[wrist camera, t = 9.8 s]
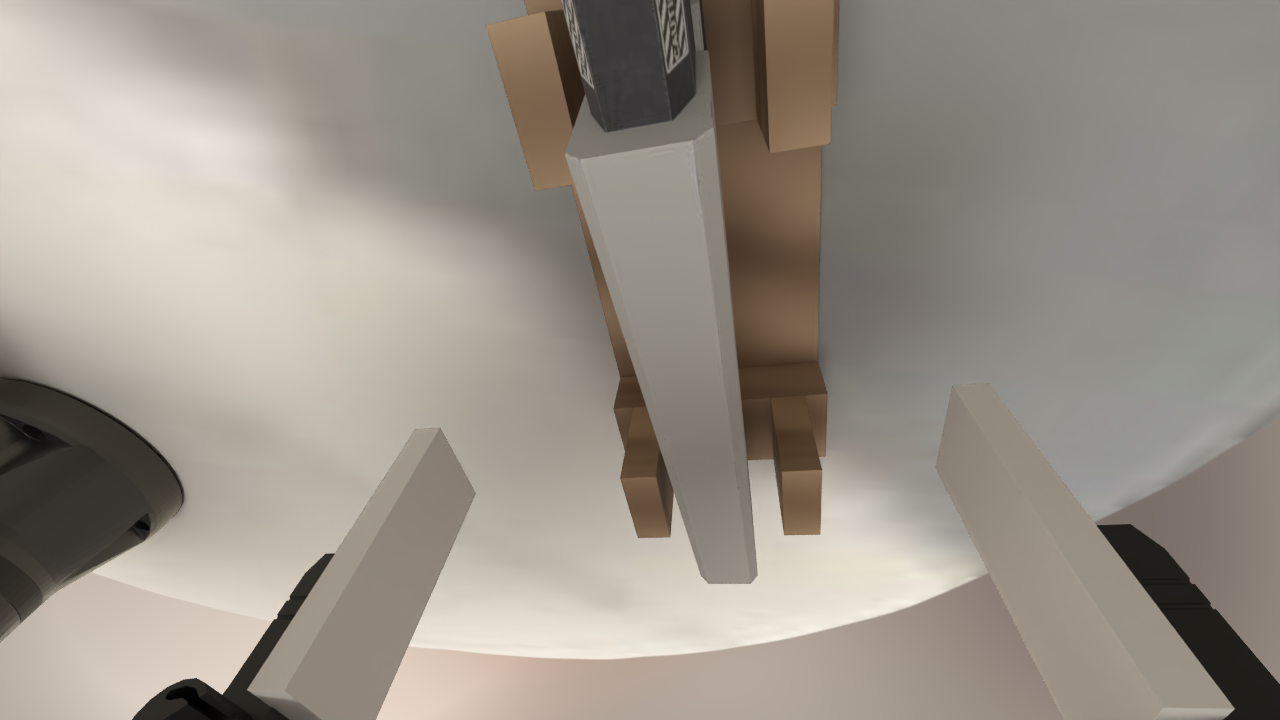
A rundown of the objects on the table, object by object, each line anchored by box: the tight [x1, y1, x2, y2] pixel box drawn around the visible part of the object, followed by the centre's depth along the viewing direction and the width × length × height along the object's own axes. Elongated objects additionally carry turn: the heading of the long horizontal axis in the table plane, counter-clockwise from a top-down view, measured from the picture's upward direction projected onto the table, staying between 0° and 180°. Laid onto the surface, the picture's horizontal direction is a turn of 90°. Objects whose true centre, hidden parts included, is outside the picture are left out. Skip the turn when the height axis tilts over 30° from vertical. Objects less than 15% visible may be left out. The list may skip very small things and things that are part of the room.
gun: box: [560, 0, 757, 584], centre depth 18 cm, size 2×25×10 cm, turn 10°
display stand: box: [486, 0, 839, 538], centre depth 20 cm, size 22×10×8 cm, turn 10°
